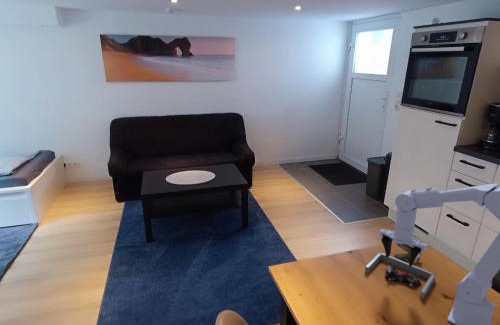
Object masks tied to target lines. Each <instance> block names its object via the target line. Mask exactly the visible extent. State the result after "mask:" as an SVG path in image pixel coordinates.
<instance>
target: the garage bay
mask: <svg viewBox="0 0 500 325" xmlns="http://www.w3.org/2000/svg"><path fill="white" fill-rule="evenodd" d="M380 261H383V262H386V263H387V264H390V265H393V266H394V267H395V266H396V267H399V268H400V269H403V270H405V271H408V272H409V273H411V274H414V275H415V274H416V275H417V276H420V277H422V278H425V279H427V281H426V283H425V284H424V286H423V288H422V289H421V291H420V295H419V298H420V299H424V298H425V297H426V295H427V293H428V292H429V290H430V288H431V287H432V285H433V283H434V281H435V280H436V273H434V272H431V271H428V270H426V269H423V268H421V267H419V266H417V265H416V266H415V265H414V264H413V265H412V266H411V267H410V266H409V262H406V261H404V260H402V259H401V260H399V259H397V258H395V257H394V256H391V255H390V256H389V257H386V253H383V252H381V251H379V252H378V253H376V256H374V257H373V258H372V260H370V261H369V262H368V264H366V266H365V268H364V269H365V270H364V273H365V274H369V272H371V270H372V269H373V268H374V267H375V266H376V265H377V264H378V263H379V262H380Z"/></svg>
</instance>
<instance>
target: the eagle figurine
mask: <svg viewBox="0 0 500 325" xmlns="http://www.w3.org/2000/svg"><path fill="white" fill-rule="evenodd" d="M396 245H397V246H398V247H400V248H401V249H402V250H403V251H405V252H407V253H395V254H394V255H393V257H394V258H396V259H399V260H401V261H402V260H407V261H408V260H409V261H410V256H411V249H412V248H413V246H410V245H407V244H398V243H396ZM422 255H423V254H422V251H421V252H420V253H419V254H418V255H417V257H416V258H415V260H416V261H417V262H419V261H420V259H421V256H422Z"/></svg>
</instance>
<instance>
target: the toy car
mask: <svg viewBox="0 0 500 325" xmlns="http://www.w3.org/2000/svg"><path fill="white" fill-rule="evenodd" d="M387 265H388V268H387V269H386V270H385V272H384V279H386V280H387V281H389V282H392V281H393V282H395V283H398V284H402V285H403V284H404V285H408V286H409V287H412V288H413V287H414V288H417V287H419V286H421V285H422V282H421V280H420V279H419V278H418V277H417V276H418V275H417V274H415V273H407V272H403V271H402V272H401V271H398V270H397V267H395V266H394V267H391V264H390V263H387Z"/></svg>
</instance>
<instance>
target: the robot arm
mask: <svg viewBox="0 0 500 325" xmlns="http://www.w3.org/2000/svg"><path fill="white" fill-rule="evenodd" d="M498 184H499V183H488V184H480V185H474V186H468V187H461V188H456V189H449V190H442V189H440V188H438V187H432V186H427V187H425V189H420V190H416V189H414V188H413V189H411V190H409V189H408V190H406V191H404V192H402V193H401V194H398V195H397V196H396V197H395V199H394V200H395V201H394V203H395V206H396V207H397V209H396V215H395V216H396V217H395V224H394V227H393V228H394V230H389V229H384V228H382V229H380V230H379V236H380V237H382V238H381V243H382V245H383V249H384V252H385V254H386V257H389V256H391V251H392V244H393V241H395V244H397V243H398V244H407V245H409V246H411V247H413V248H412V249H411V256H410V260H409V262H408V263H409V266H410V267H411V266H412V265H414V263H415V260H416V259H415V258H416V257H417V255H418V254H419V253H420V252H421V253H422V252H425V251H426V250H427V247H428V244H427V243H425V242H423V241H421V240H419V239H417V238H415V237H414V230H415V224H416V218H417V210H419V209H429V208H430V209H432V208H440V207H442V206H443V205H444V204H445V203H452V202H453V203H454V202H456V203H457V202H475V203H476V204H477V205H478V206H479V207H481V208H483V207H484V206H485V207H486V208H487V210H488V211H489V212H490V213H491V214H492V215H493V216H494V217H496V218H497V219H498V221H500V184H499V185H498ZM398 244H397V245H398ZM499 270H500V231H499V232H498V234H497V235H496V236H495V238H494V239H493V241H492V242H491V243H490V245H489V247H488V248H487V249H486V251H485V252H484V253H483V256H482V257H481V258H480V259H479V261H478V262H477V263H476V264H475V267H474V268H473V269H471V270H469V271H468V272H467V273H466V275H465V276H464V277H462V279H461V281H459V282H458V283H456V285H455V291H456V294H455V298H454V302H453V306H452V307H451V308H452V309H451V310H450V312H449V315H448V316H447V318H446V320H447V321H448V322H450V323H451V324H454V325H492V324H493V322H492V318H493V315H494V312H495V308H496V304H494V303H492V302H491V301H489V300H488V298H487V297H488V296H487V293H488V291H489V290H491V288H492V286H493V278H494V277H495V276H496V274H497V273H498V272H499Z"/></svg>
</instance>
